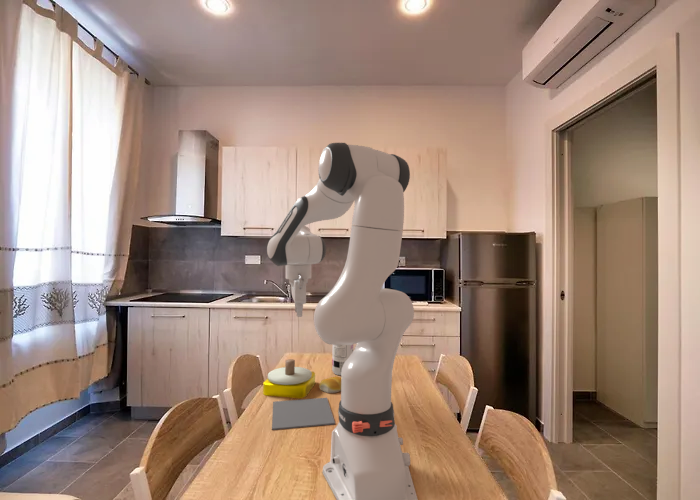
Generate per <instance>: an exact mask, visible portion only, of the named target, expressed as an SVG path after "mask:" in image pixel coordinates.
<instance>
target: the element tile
mask: <svg viewBox="0 0 700 500" xmlns="http://www.w3.org/2000/svg"><path fill="white" fill-rule="evenodd" d="M310 371H311V372H312V377H311V378H310V379H309V380H308V381H306V382H303V383H299V384H292V385H281V384H275V383H272V382H270V381H269V380H268V378H266V379H265V380H264V381H263V382H262V395H263V396H267V397H280V398H290V399H291V398H293V399H305V398H306V397H307V396H308V394H309V393H310V392H311V390H312V389H313V388H314V386H315V384H316V373H315V371H312V370H310Z"/></svg>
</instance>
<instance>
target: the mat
mask: <svg viewBox="0 0 700 500" xmlns="http://www.w3.org/2000/svg"><path fill="white" fill-rule="evenodd" d="M271 417H272V419H271V420H272V423H271V430H272V431H274V430H276V431H277V430H287V429H288V430H289V429H297V428H308V427H319V426H321V427H322V426H331V425H336V421H335V418H334V415H333V412H332V409H331V407H330V403H329V400H328V397H318V398H317V397H315V398H300V399H290V400H289V399H288V400H278V401H275V400H274V401H272V416H271Z"/></svg>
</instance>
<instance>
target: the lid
mask: <svg viewBox="0 0 700 500" xmlns="http://www.w3.org/2000/svg"><path fill="white" fill-rule="evenodd" d="M295 362H296V361H295V359H285V366H284V367H279V368H275V369H273V370H271V371H269V372H268V374H267V379H268V380H269V381H270V382H272V383H275V384H281V385H292V384H299V383H303V382H306V381H308V380H309V379H310V378H311V377H312V372H313V371H312V370H310V369H308V368H305V367H301V366H296V365H295ZM311 371H312V372H311Z"/></svg>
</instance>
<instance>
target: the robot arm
mask: <svg viewBox="0 0 700 500" xmlns="http://www.w3.org/2000/svg"><path fill="white" fill-rule="evenodd" d="M318 177H319V179H318V181H317V183H316V184H315V186H314V187H313V188H312V189H311V190H310V191H309V192H307V193H306V194H305V195H304V196H301V197H300V198H298V199H297V200H296V201H295V202H294V204H293V205H292V207H291V208H290V210H289V211H288V213H286V216H285V218H284V219H283V221H282V223H281V224H280V225H279V227H278V228H277V231H275V232H274V234H272V236H271V237H270V238H269V240H268V241H267V242H268V243H267V247H266V254H267V258H268V259H269V260H270V262H272V263H273V264H274V265H275V266H277V267H281V266H285V280H289V281H288V282H289V284H290V290H291V292H290V293H291V297H292V300H293V302H294V311H295V313H296V317H297V318H300V317H303V310H304V305H305V304H306V303H307V284H308V283H309V282H308V281H309V279H310V280H312V265H317V264H320V263H321V262H322V261H323V260H324V259H325V258H326V255H327V244H326V242H325V240H324V239H323V238H322V237H321V236H320V235H317V234H314V233H313V232H312V231H311V229H310V227H308V226H307V225H309V224H313V223H317V222H322V221H328V220H329V221H331V220H335V219H338V218H341V217H342V216H344V215H345V214H346V213H347V212H348V211H349V210H350V209H351V207H352V205H353V203H354V205H353V207H354V208H353V214H352V220H351V227H350V236H349V243H348V249H347V256H346V259H345V260H346V261H345V264H344V267H343V269H342V272H341V273H340V275H339V278H338V279H337V281H336V283H335V284H334V286H333V287H332V288H331V290H330V291H329V292H327V294H326V295H325V296H324V297H323V298H322V299H320V300H319V302H318V303H317V305H316V306H315V310H314V313H313V325H314V330H315V331H316V334H317V335H318V338H320V340H322V342H324V343H325V344H328V345H332V346H333V345H352V344H353V345H355V347H354V348H353V353H352V354H351V355H350V357H349V358H348V359H347V360H346V361H345V363H344V364H343V367H342V371H341V391H340V401H339V404H338V411H337V412H338V423H337V425H336V426H335V427H334V429H333V430H332V431H331V441H330V461H329V462H327V463H325V464H323V467H322V474H323V476H324V478H325V481H327V482H326V483H327V484H328V486H329V488H330V489H331V491H332V493H333V495H334V497H335V500H418V496H417V493H416V489H415V485H414V481H413V479H412V474H411V472H410V471H411V470H410V468H409V466H411V456H410V455H411V454H410V453H409V452H403V451H402V448H401V446H402V445H404V440H403V437H399V435H398V434H399V432H398V429H397V428H398V426H397V424H396V421H395V410H394V404H393V402H392V382H393V368H394V364H395V359H396V355H397V352H398V348H399V346H400V343H401V340H402V338H403V336H404V334H405V333H406V331H407V330H408V328H409V327H410V326H411V324H412V323H413V320H414V317H415V309H414V305H413V301H412V299H411V298H410V297H409V296H408V295H407V294H406V293H405V292H403V291H400V290H397V289H391V288H383V286H384V284H385V282H386V280H387V279H388V277H390V276H391V275H392V274H393V273H394V272H395V271H396V269H397V268H398V266H399V263H400V255H401V254H400V253H401V247H402V240H403V239H402V238H403V232H404V223H405V222H404V221H405V195H404V193H405V191H406V190H407V187H408V185H409V183H410V180H411V179H410V178H411V173H410V167H409V164H408V162H407V161H406V160H405V159H404V158H403V157H401V156H399V155H396V154H393V153H391V154H390V153H387V152H385V151H382V150H379V149H374V148H372V147H370V146H364V145H359V144H357V145H356V144H348V143H346V142H333V143H332V142H331V143H329V144H327V146H326V147H324V148H323V150H322V152H321V155H320V157H319V161H318Z"/></svg>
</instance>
